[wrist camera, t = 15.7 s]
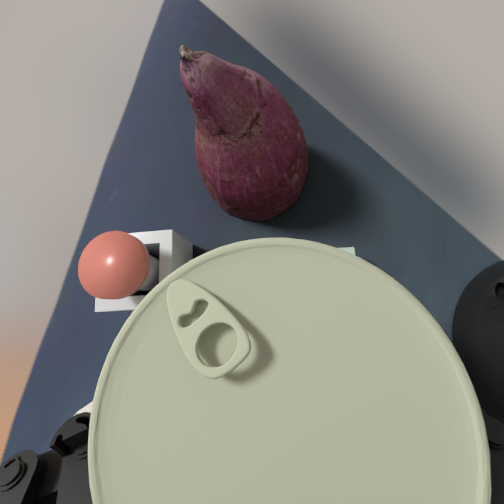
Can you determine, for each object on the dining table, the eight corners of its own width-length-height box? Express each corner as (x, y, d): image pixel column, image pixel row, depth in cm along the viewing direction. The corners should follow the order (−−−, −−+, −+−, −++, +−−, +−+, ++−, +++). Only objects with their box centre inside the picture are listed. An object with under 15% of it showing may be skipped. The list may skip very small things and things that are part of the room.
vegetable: (219, 229, 28) (96, 190, 14) (217, 141, 29) (98, 19, 15) (314, 220, 24) (280, 155, 10) (309, 120, 25) (270, -67, 11)
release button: (180, 248, 23) (145, 228, 17) (179, 299, 22) (142, 297, 16) (132, 252, 23) (81, 233, 17) (130, 302, 22) (75, 301, 16)
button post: (192, 244, 24) (172, 229, 20) (193, 306, 23) (171, 307, 18) (134, 249, 25) (100, 235, 20) (131, 310, 24) (94, 311, 19)
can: (280, 253, 18) (297, 159, 6) (372, 358, 16) (634, 496, 5) (180, 336, 17) (-3, 397, 6) (264, 456, 16) (243, 917, 4)
